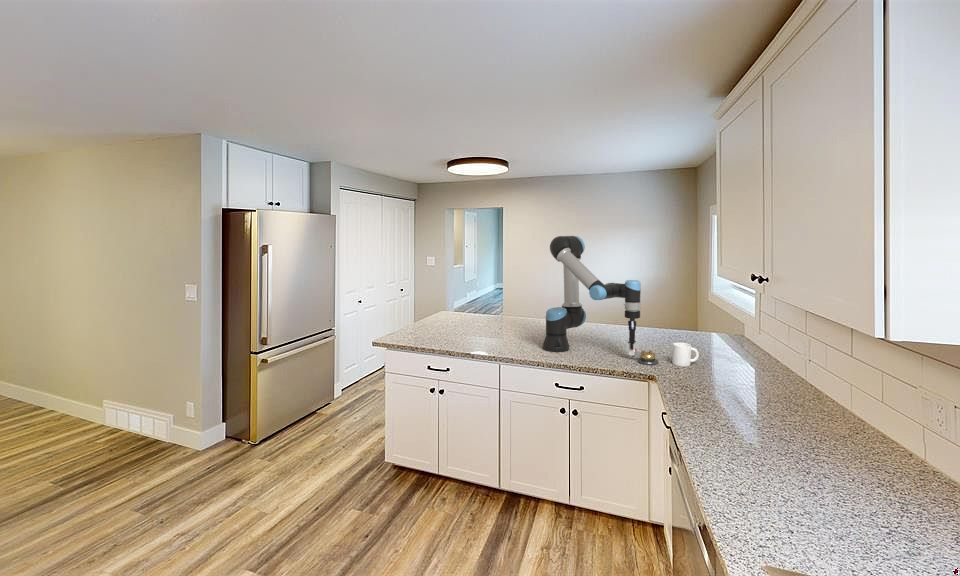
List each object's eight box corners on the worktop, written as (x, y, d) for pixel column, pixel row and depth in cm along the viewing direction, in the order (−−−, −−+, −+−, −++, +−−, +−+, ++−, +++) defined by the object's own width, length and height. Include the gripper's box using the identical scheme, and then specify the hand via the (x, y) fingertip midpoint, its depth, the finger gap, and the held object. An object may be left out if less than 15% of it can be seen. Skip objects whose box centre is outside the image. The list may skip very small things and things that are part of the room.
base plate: (633, 362, 214) (633, 359, 214) (642, 358, 220) (643, 355, 220) (652, 366, 206) (652, 363, 206) (661, 362, 213) (661, 359, 213)
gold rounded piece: (657, 359, 213) (657, 351, 212) (651, 362, 208) (651, 354, 208) (635, 354, 222) (635, 347, 222) (628, 357, 217) (628, 349, 217)
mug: (696, 363, 211) (697, 343, 210) (700, 368, 203) (701, 347, 202) (670, 361, 214) (671, 342, 212) (674, 366, 206) (675, 346, 204)
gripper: (624, 308, 222) (623, 351, 225) (624, 311, 210) (624, 357, 213) (639, 308, 220) (638, 352, 222) (640, 312, 208) (639, 358, 210)
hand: (631, 354), depth 217 cm, fingers closed
